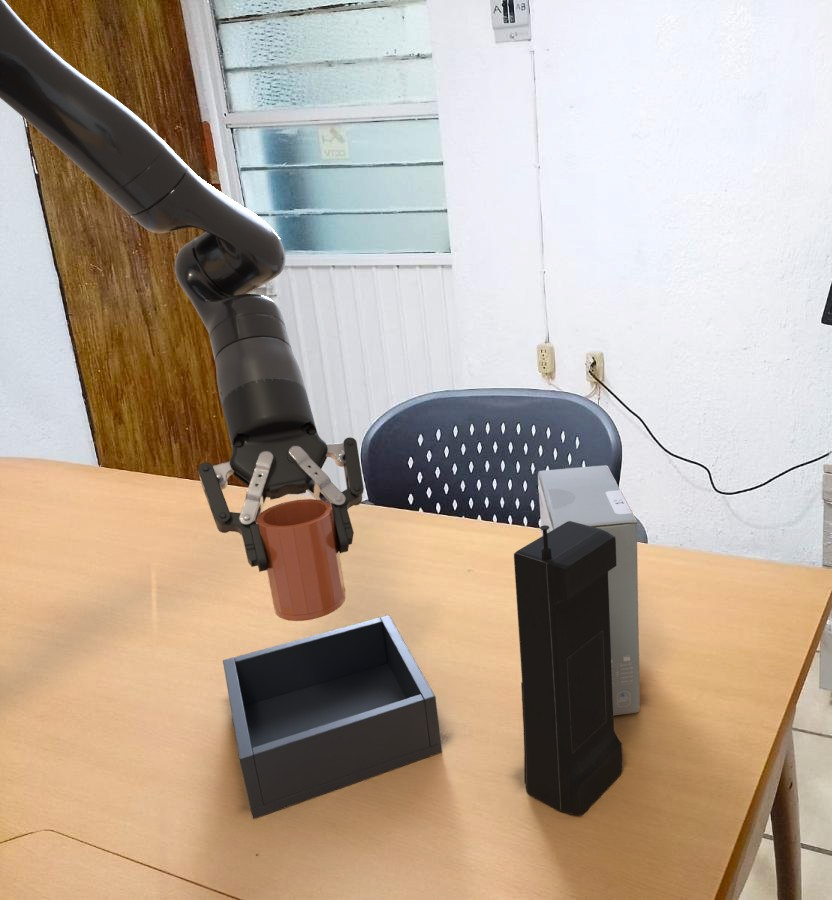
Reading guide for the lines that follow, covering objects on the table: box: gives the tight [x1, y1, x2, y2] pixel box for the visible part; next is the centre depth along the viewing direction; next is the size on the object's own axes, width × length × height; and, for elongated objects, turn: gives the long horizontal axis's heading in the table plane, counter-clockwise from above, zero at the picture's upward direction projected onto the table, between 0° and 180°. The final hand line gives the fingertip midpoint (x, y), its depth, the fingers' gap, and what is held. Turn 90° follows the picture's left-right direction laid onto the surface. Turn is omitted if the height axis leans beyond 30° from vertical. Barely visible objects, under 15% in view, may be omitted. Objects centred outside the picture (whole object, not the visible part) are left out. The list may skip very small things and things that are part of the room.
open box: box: [222, 614, 443, 820], centre depth 77 cm, size 16×16×6 cm
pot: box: [257, 498, 346, 622], centre depth 74 cm, size 6×6×9 cm
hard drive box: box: [537, 465, 641, 717], centre depth 82 cm, size 16×8×20 cm, turn 9°
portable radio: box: [513, 521, 623, 816], centre depth 66 cm, size 8×6×25 cm
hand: (304, 557), depth 72 cm, fingers closed on pot, 6 cm apart
